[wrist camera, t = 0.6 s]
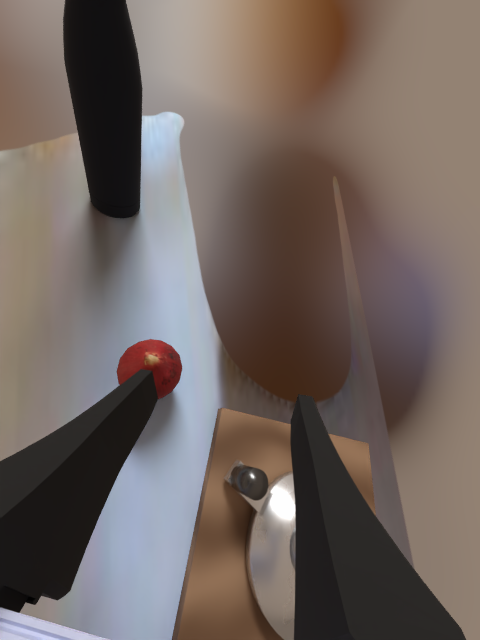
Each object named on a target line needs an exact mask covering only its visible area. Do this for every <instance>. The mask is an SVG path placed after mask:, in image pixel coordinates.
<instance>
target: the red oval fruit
mask: <svg viewBox="0 0 480 640" xmlns="http://www.w3.org/2000/svg"><path fill="white" fill-rule="evenodd" d="M140 369H144V370H150V371H153V376H154V381H155V386H156V390H157V395H158V399H160V398H163V397H164V396H166V395H167V394H169V393H170V392H172V391H173V389H174V388H175V387H176V385H177V384H178V382H179V380H180V376H181V371H182V364H181V360H180V356H179V354H178V353H177V352H176V351H175V350H174V348H173V347H172V346H170V345H169V344H167V343H165V342H163V341H160V340H152V339H149V340H145V341H141V342H138V343H137V344H135V345H133V346H131V347H129V348H128V349H127V350H126V351H125V353H124V354H123V355H122V357H121V358H120V361H119V365H118V368H117V376H118V382H119V384H120V385H121V384H122V383H124V382H125V381H126V380H127V379H129V378H130V377H131V376H132V375H134V374H135V373H136V372H138V371H139V370H140Z"/></svg>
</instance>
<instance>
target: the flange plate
mask: <svg viewBox="0 0 480 640" xmlns="http://www.w3.org/2000/svg"><path fill="white" fill-rule="evenodd" d="M224 480H225V481H226V482H227V483H228V484H229V485H230V486H231V487H232V488H233V489H234V490H235V491H236V492H237V493H238V494H239V495H240V496H241V497H242V498H243V499H244V500H245V501H246V502H247V503H248V504H249V505H250V506H251V507H252V508H253V509H254V510H253V512H252V515H251V519H250V523H249V526H248V533H247V541H246V564H247V573H248V578H249V583H250V586H251V590H252V593H253V596H254V598H255V600H256V603H257V605H258V607H259V609H260V610H261V612H262V614H263V615H264V617H265V618H266V619H267V621H268V622H269V624H270V625H271V626H272V628H273V629H274V630H275V631H276V632H277V634H278V635H280V636H281V637H282V638H283V639H284V640H294V614H295V545H296V525H295V494H294V482H293V471H290V472H286V473H284V474H282V475H279V476H278V477H277V478H275V479H274V480H273V481H272V482H271V483H269V484H268V478H267V475H266V474H265V472H264V471H263V470H261V469H258V468H254V467H251V466H247V465H244V464H243V463H242V462H241V461H239V460H236V461H235V462H234V464H233V465H232V467H231V468H230V470H229V471H228V473H227V474H226V476H225V477H224Z"/></svg>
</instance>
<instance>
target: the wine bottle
mask: <svg viewBox="0 0 480 640" xmlns="http://www.w3.org/2000/svg"><path fill="white" fill-rule="evenodd" d="M63 40H64V60H65V66H66V72H67V77H68V82H69V88H70V93H71V98H72V103H73V109H74V114H75V119H76V124H77V130H78V135H79V140H80V146H81V151H82V156H83V161H84V167H85V172H86V177H87V182H88V188H89V193H90V198H91V202H92V204H93V205H94V207H95V208H96V209H98V210H99V211H100V212H102V213H104V214H106V215H108V216H112V217H115V218H126V217H131V216H133V215H135V214H136V213H137V212H138V211H139V208H140V181H141V128H142V83H141V74H140V66H139V59H138V53H137V48H136V43H135V39H134V34H133V30H132V26H131V22H130V18H129V13H128V9H127V4H126V0H65V7H64V17H63Z"/></svg>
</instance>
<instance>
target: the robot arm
mask: <svg viewBox="0 0 480 640" xmlns="http://www.w3.org/2000/svg"><path fill="white" fill-rule="evenodd" d="M157 399H158V395H157V390H156V386H155V381H154V376H153V371H150V370H144V369H140V370H139V371H138V372H136V373H135V374H134V375H132V376H131V377H130V378H129V379H127V380H126V381H125V382H124V383H122V384H121V385H120V386H118V387H117V388H116V389H115V390H113V391H112V392H111V393H109V394H108V395H107V396H105V397H104V398H103V399H101V400H100V401H99V402H97V403H96V404H95V405H93V406H92V407H90V408H89V409H88V410H86V411H85V412H83V413H82V414H81V415H79V416H78V417H76V418H75V419H73V420H72V421H70V422H69V423H67V424H66V425H64V426H62V427H61V428H59V429H58V430H56V431H54V432H53V433H51V434H49V435H48V436H46V437H44V438H43V439H41V440H39V441H37V442H35V443H34V444H32V445H30V446H28V447H26V448H25V449H23V450H21V451H19V452H17V453H16V454H14V455H12V456H10V457H8V458H6V459H4V460H2V461H0V640H109V639H106V638H102V637H99V636H95V635H92V634H89V633H85V632H82V631H78V630H75V629H72V628H68V627H65V626H61V625H58V624H55V623H51V622H48V621H45V620H41V619H38V618H34V617H31V616H28V615H24V614H21V613H19V612H20V611H21V609H22V607H23V606H24V604H25V602H26V603H30V604H33V605H35V604H36V603H37V602H38V600H39V598H40V597H41V596H44V597H48V598H52V599H55V600H59V599H61V598H62V597H63V596H65V595H66V594H67V593H68V592H69V591H70V590H71V587H72V584H73V582H74V579H75V576H76V574H77V571H78V568H79V566H80V563H81V561H82V558H83V555H84V553H85V550H86V548H87V545H88V543H89V540H90V538H91V535H92V533H93V530H94V528H95V526H96V523H97V521H98V518H99V516H100V514H101V511H102V509H103V507H104V505H105V502H106V500H107V498H108V495H109V493H110V491H111V489H112V487H113V485H114V482H115V480H116V478H117V476H118V474H119V472H120V470H121V468H122V466H123V464H124V462H125V461H126V459H127V457H128V455H129V454H130V452H131V450H132V448H133V447H134V445H135V443H136V441H137V440H138V438H139V436H140V434H141V433H142V431H143V429H144V427H145V425H146V424H147V422H148V420H149V418H150V416H151V414H152V411H153V409H154V407H155V404H156V402H157ZM290 445H291V458H292V470H293V482H294V494H295V525H296V545H295V614H294V640H466V638H465V636H464V634H463V632H462V630H461V628H460V627H459V625H458V624H457V623H456V622H455V620H454V619H453V618H452V617H451V615H450V614H449V613H448V612H447V611H446V610H445V608H444V607H443V606H442V604H441V603H440V602H439V601H438V599H437V598H436V597H435V596H434V594H433V593H432V592H431V591H430V589H429V588H428V587H427V585H426V584H425V583H424V582H423V581H422V579H421V578H420V576H419V575H418V574H417V573H416V571H415V570H414V569H413V567H412V566H411V565H410V563H409V562H408V561H407V559H406V558H405V557H404V555H403V554H402V553H401V551H400V550H399V548H398V547H397V546H396V544H395V543H394V541H393V540H392V539H391V537H390V536H389V534H388V533H387V531H386V530H385V529H384V527H383V526H382V524H381V523H380V522H379V520H378V519H377V517H376V516H375V514H374V513H373V511H372V510H371V508H370V507H369V505H368V504H367V502H366V501H365V499H364V497H363V496H362V494H361V493H360V491H359V489H358V488H357V486H356V484H355V483H354V481H353V479H352V478H351V476H350V474H349V473H348V471H347V469H346V467H345V465H344V464H343V462H342V460H341V458H340V456H339V454H338V452H337V450H336V449H335V447H334V444H333V442H332V440H331V438H330V436H329V434H328V432H327V430H326V428H325V426H324V423H323V421H322V419H321V417H320V414H319V412H318V409H317V407H316V404H315V401H314V399H313V397H312V396H306V395H298V397H297V401H296V404H295V408H294V411H293V415H292V418H291V433H290Z"/></svg>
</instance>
